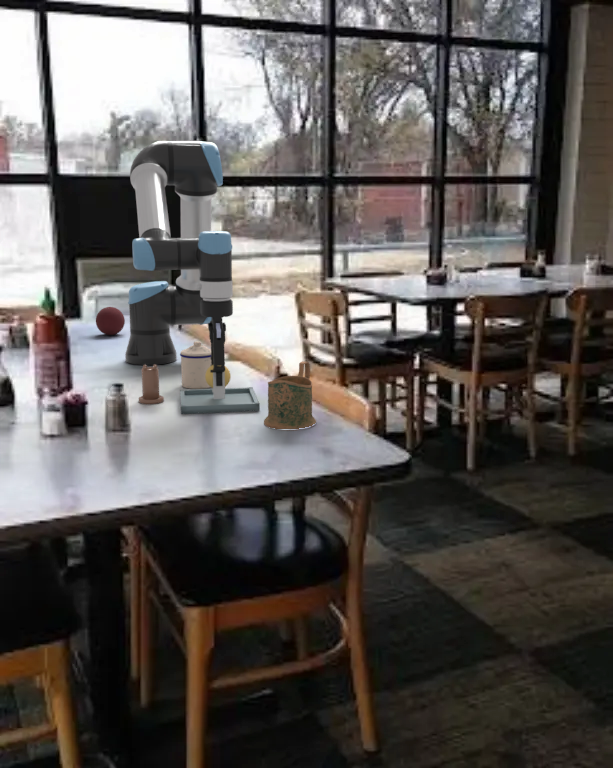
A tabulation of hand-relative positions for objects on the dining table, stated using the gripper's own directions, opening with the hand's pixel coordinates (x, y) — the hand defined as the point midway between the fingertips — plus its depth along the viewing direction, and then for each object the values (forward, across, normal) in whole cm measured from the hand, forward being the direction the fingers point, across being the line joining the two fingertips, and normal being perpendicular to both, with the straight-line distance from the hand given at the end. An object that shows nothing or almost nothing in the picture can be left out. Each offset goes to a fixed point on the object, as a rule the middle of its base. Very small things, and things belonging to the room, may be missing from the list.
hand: (218, 395), depth 190 cm
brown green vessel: (+2, +16, +16) cm, 23 cm away
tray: (+2, 0, 0) cm, 2 cm away
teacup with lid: (+2, -21, -4) cm, 22 cm away
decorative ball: (+2, -101, -32) cm, 106 cm away
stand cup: (+2, -5, -16) cm, 17 cm away
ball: (-5, 0, 0) cm, 5 cm away
